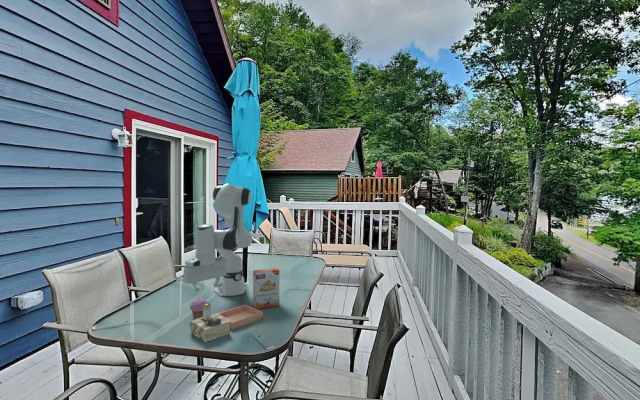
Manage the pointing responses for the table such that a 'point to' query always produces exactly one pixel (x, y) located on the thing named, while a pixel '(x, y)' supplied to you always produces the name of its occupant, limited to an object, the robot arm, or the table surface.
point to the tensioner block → (210, 327)
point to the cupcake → (197, 307)
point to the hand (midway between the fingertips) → (206, 288)
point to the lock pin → (206, 312)
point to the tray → (241, 316)
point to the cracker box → (265, 288)
